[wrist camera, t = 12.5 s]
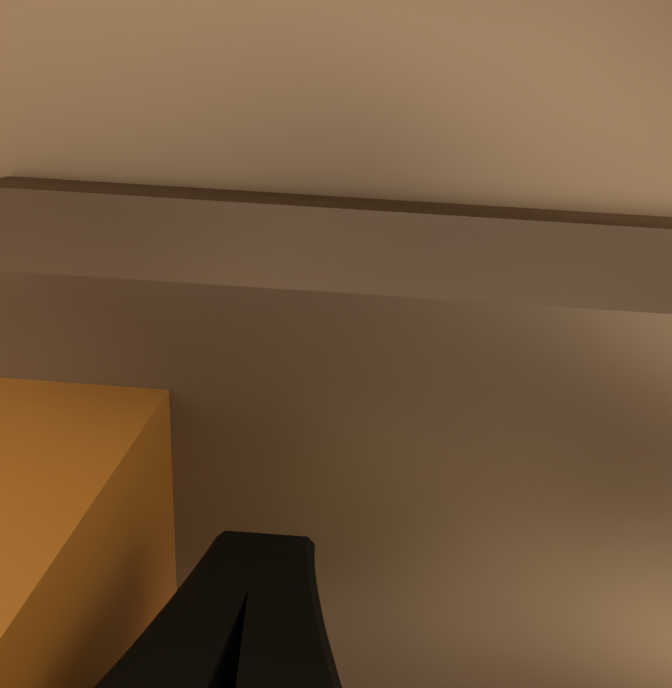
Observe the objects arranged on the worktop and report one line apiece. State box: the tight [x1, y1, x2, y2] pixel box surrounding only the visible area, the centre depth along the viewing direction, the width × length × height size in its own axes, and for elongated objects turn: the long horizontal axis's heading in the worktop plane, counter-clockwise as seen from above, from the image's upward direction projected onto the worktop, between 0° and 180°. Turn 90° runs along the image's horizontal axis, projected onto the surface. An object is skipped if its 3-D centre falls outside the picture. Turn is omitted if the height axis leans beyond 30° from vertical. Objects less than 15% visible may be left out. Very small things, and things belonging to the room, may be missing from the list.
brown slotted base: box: [0, 0, 672, 688], centre depth 7 cm, size 18×14×6 cm
